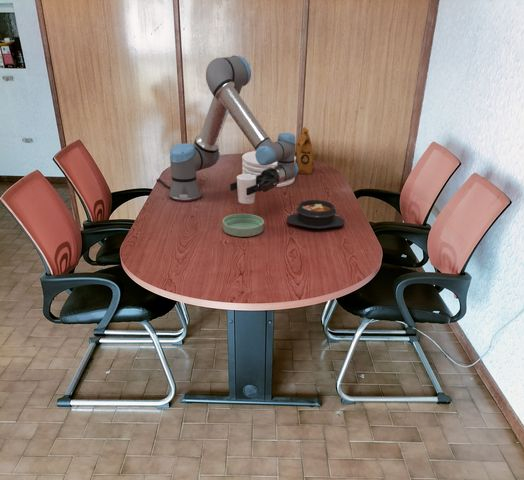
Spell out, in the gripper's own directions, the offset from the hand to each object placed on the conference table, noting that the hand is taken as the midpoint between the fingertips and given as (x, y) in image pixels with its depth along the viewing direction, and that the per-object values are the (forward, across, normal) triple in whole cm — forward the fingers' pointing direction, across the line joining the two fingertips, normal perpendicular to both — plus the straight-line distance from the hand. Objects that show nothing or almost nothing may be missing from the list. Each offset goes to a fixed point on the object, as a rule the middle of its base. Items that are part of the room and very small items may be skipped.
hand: (239, 189), depth 207 cm
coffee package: (-92, +27, -18) cm, 97 cm away
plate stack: (-67, +34, -18) cm, 77 cm away
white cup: (-5, 0, -6) cm, 8 cm away
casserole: (-27, -20, -18) cm, 38 cm away
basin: (-3, 0, -18) cm, 18 cm away
